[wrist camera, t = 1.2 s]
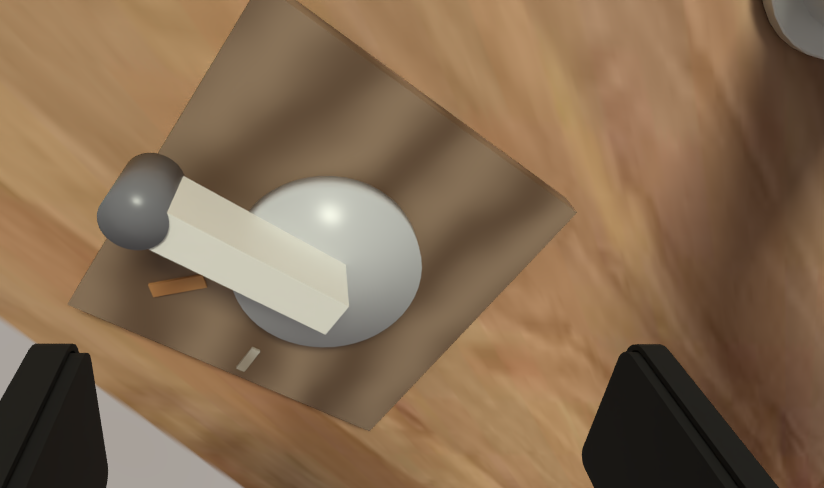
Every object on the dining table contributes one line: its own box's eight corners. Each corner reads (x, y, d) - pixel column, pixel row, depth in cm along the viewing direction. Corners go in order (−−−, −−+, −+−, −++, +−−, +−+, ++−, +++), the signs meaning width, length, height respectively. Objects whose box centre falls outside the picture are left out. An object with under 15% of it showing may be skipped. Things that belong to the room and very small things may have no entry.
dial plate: (565, 197, 39) (578, 214, 37) (367, 410, 47) (369, 433, 45) (264, -24, 30) (260, -17, 28) (78, 285, 38) (66, 306, 36)
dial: (454, 236, 37) (475, 292, 32) (350, 355, 41) (355, 421, 36) (184, 67, 30) (157, 105, 25) (88, 230, 33) (49, 292, 28)
